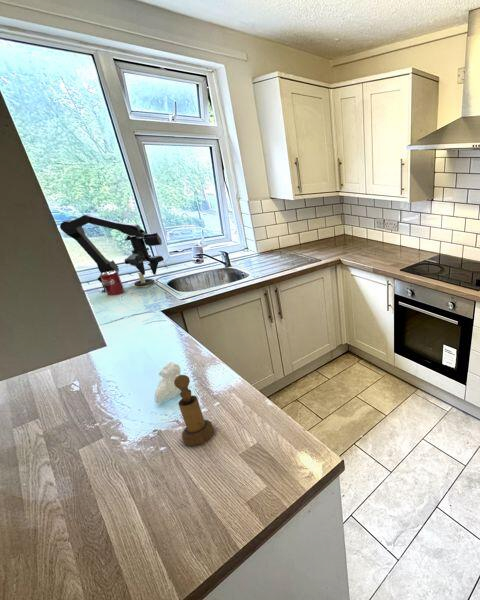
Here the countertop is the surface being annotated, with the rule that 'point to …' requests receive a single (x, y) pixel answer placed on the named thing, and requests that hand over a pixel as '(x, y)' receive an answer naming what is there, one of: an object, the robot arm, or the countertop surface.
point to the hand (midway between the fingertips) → (149, 274)
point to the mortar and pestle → (192, 415)
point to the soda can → (112, 283)
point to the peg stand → (142, 280)
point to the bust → (167, 383)
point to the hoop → (148, 282)
